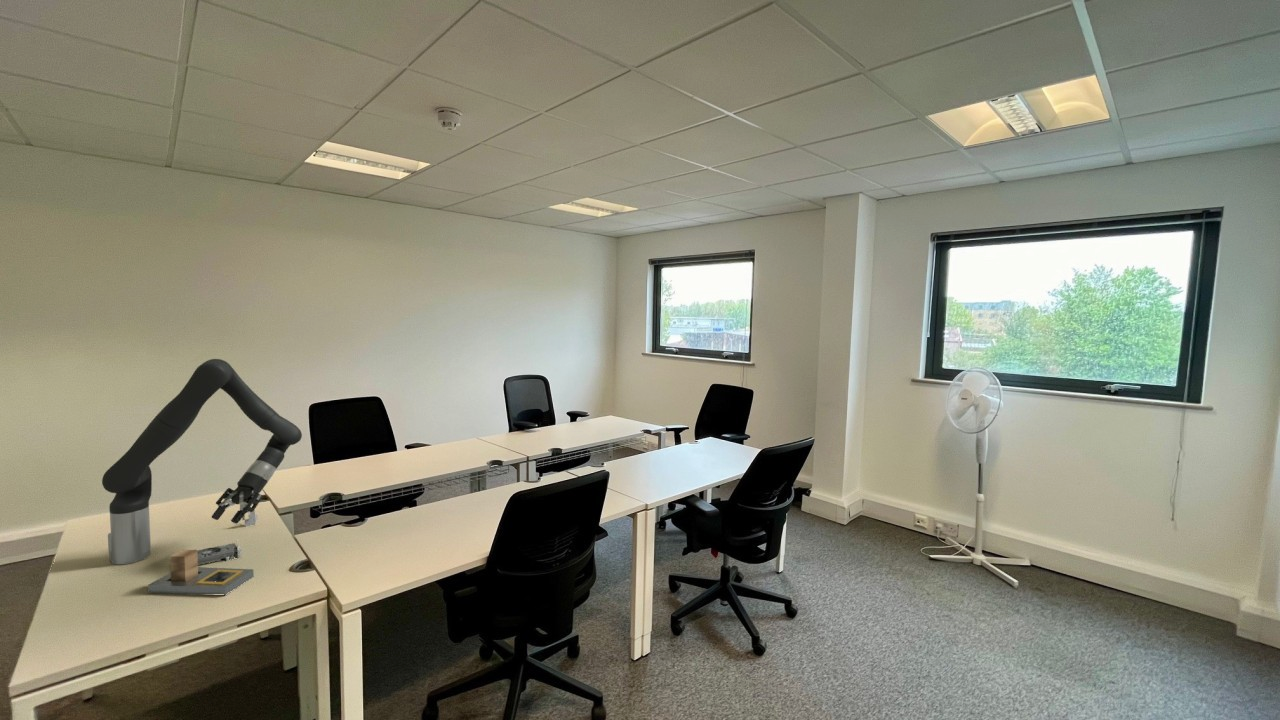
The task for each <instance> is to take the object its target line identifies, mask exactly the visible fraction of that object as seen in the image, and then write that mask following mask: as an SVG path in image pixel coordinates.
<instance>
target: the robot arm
mask: <svg viewBox="0 0 1280 720" xmlns="http://www.w3.org/2000/svg"><path fill="white" fill-rule="evenodd" d="M218 390H222V391H224V392H225V393H226V394H227V395H228V396H229V397H230V398H231V399H232V400H234V402H235V403H236V404H237V406H238V407H239V409H240V410H241V412H242V413H243V414H244V415H245V416H246V417H247V418H248V419H249V420H250V421H252V423H254V424H255V425H256V426H258V427H259V428H260V429H261V430H264V431H268V432H270V433H272V435H271V437H270V438H269V440H268V442H267V444H266V446H265V448H264V449H263V451H262V452H261V453H260V454H259V455H258V456H257V458H256V459H255V461H254V462H253V463H252V464H251V465H250V466H249V467H248V468H247V470H246V471H245V472H244V474H243V475H242V476H241V478H240V479H239V480H238V481H237V482H236V483H237V487H236V488H235V489H233V488H230V487H228V488H226V490H225V491H224V492H223V493H222V495H221V496H220V497H219V498H218V499H217V501H216V502H215V505H217V508H216V509H215V511H214V512H213V514H211V519H212V520H216V521H218V520H219V519H221V517H222V515H223V514H224V512H225V511H226V510H227V509H228V508H229V507H232V506H235V505H239V510H237V512H235V514H234V515H233V517H232V518H231V519H230V521H231V523H233V524H236V525H237V524H238V523H239V522H240V521H241V520H242V517H243V516H244V515H245V516H246V514H248V512H249V513H250V512H253V511H254V510H255V509H256V508H257V506H258V505H259V504H260V502H261V500H262V499H263V496H264V495H262V494H261V492H262V491H263V490H264V488H265V487H266V486H267V484H268V482H269V481H270V480H271V479H272V477H273V475H274V474H275V472H276V470H277V469H278V468H279V466H280V465H281V463H282V462H283V461H284V459H285V454H286V452H287V450H288V449H289V447H291V446H294V445H296V444H297V443H299V442H300V441H301V439H302V438H303V434H302V431H301V429H300V428H299V427H298V426H297V425H295V423H293V422H291V421H290V420H288V419H287V418H284V417H283V416H282V415H280V414H279V413H278V412H277V411H276V410H275V409H273V408H272V407H271V406H270V405H269V404H267V402H265V400H263V399H262V398H261V397H260V396H258V394H257V393H255V392H254V391H253V390H252V388H250V386H249V385H248V384H246V383H245V382H244V380H243V379H242V378H241V377H240V375H239V374H238V373H237V372H236V370H235V369H234V368H233V367H232V365H231V364H230V363H229V362H227V361H226V360H223V359H220V358H211V359H207V360H206V361H204V362H202V363H201V364H200V365H199V366H197V367H196V368H195V370H194V371H193V373H192V374H191V376H190V377H189V379H188V381H187V383H186V384H185V386H184V387H183V388H182V389H181V391H180V392H179V393H178V394H177V395H176V396H175V397H174V398H172V400H171V401H169V402H168V403H167V404H166V405H164V407H163V408H162V409H161V410H160V411H159V412H158V413H157V415H155V416H154V418H153V419H152V420H151V422H149V424H148V425H147V427H146V428H145V429H143V431H142V432H141V433H140V435H139V436H138V437H137V439H136V440H135V442H133V444H132V446H130V448H128V450H127V451H126V452H125V453H124V454H123V455H122V456H121V457H120V458H119V459H118V460H117V461H116V462H114V463H113V464H112V466H110V467H109V468H108V469H107V470H106V471H105V472H104V474H103V475H102V479H101V482H102V484H101V485H102V487H103V488H104V490H105V491H106V492H109V493H111V494H115V496H114V498H113V499H112V501H111V502H110V504H109V507H108V508H109V522H110V532H109V533H108V534H107V542H108V543H107V545H108V549H107V550H108V561H109V563H110V562H111V563H112V564H114V565H127V564H132V563H137V562H140V561H143V560H144V559H147V558H148V557H150V556H151V555H152V547H151V541H152V540H151V522H150V521H151V520H150V499H151V497H152V484H153V483H152V482H153V481H152V478H153V477H152V470H151V467H150V465H151V464H152V463H153V462H154V461H155V460H156V459H157V458H158V457H159V456H160V455H162V454H163V453H165V452H166V451H167V450H168V449H169V448H170V447H171V446H173V445H174V444H175V443H177V441H178V440H179V439H181V437H183V435H184V434H185V433H186V432H187V430H188V429H189V428H190V427H191V425H192V424H193V423H194V421H195V420H196V418H197V417H198V414H199V413H200V411H201V409H202V407H203V406H204V405H205V403H206V402H207V401H208V400H209V399H210V398H211V397H212V396H214V394H215V393H217V392H218Z"/></svg>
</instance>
